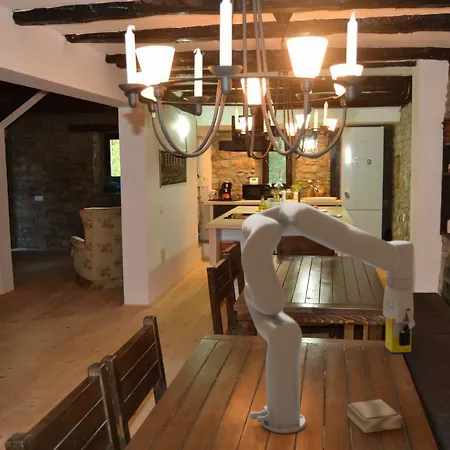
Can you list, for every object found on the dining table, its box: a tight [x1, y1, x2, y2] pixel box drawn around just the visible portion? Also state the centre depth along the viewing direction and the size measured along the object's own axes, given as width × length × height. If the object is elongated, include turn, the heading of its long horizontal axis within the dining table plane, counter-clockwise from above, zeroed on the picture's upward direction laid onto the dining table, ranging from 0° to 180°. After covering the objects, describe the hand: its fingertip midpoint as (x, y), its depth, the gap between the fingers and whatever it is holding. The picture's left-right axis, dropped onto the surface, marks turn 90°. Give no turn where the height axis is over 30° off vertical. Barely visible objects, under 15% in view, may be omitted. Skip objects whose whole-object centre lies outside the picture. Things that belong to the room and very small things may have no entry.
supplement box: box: [384, 317, 412, 356], centre depth 167 cm, size 6×6×11 cm
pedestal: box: [346, 398, 402, 434], centre depth 160 cm, size 11×11×4 cm
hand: (397, 340), depth 167 cm, fingers closed on supplement box, 6 cm apart
